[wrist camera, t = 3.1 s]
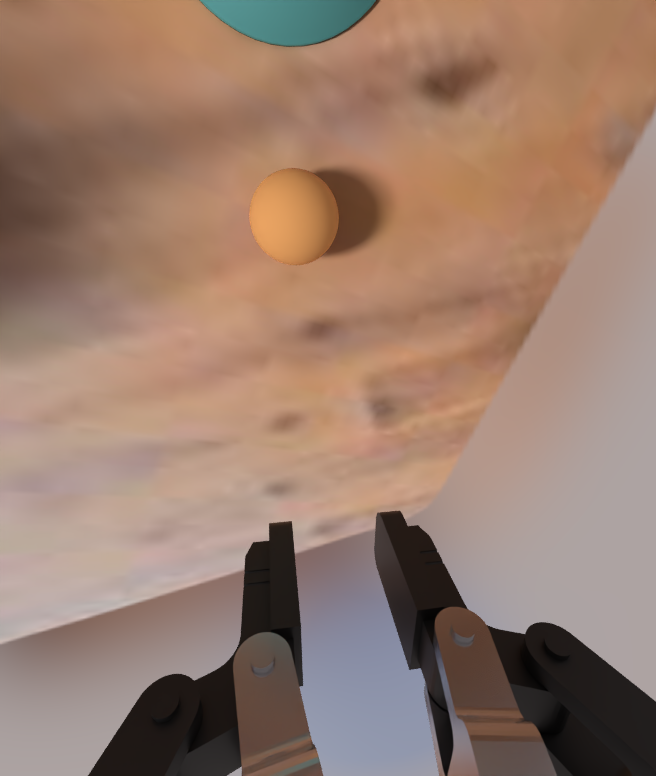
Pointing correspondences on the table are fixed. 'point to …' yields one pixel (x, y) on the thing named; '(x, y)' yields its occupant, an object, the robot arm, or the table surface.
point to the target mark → (289, 18)
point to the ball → (294, 216)
